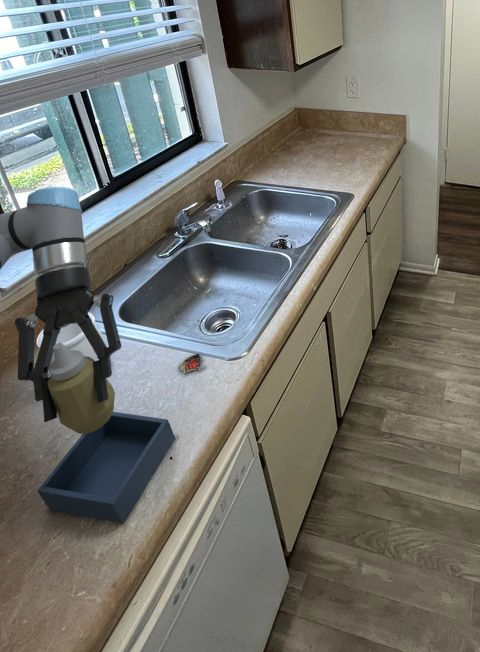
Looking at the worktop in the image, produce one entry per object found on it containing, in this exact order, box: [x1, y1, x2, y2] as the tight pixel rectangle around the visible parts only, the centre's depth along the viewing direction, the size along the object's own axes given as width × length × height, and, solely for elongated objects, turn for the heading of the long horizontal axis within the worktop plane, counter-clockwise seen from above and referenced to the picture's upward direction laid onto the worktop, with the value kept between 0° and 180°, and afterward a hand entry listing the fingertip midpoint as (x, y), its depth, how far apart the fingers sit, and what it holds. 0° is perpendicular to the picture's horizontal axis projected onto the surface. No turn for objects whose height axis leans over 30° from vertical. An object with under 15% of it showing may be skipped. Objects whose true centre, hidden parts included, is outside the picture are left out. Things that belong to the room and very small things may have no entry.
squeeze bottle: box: [47, 343, 116, 435], centre depth 73 cm, size 8×8×18 cm
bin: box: [36, 411, 176, 525], centre depth 81 cm, size 15×15×6 cm
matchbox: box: [179, 353, 202, 374], centre depth 103 cm, size 5×5×1 cm
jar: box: [36, 311, 106, 364], centre depth 98 cm, size 11×10×15 cm
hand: (77, 410), depth 71 cm, fingers closed on squeeze bottle, 6 cm apart
